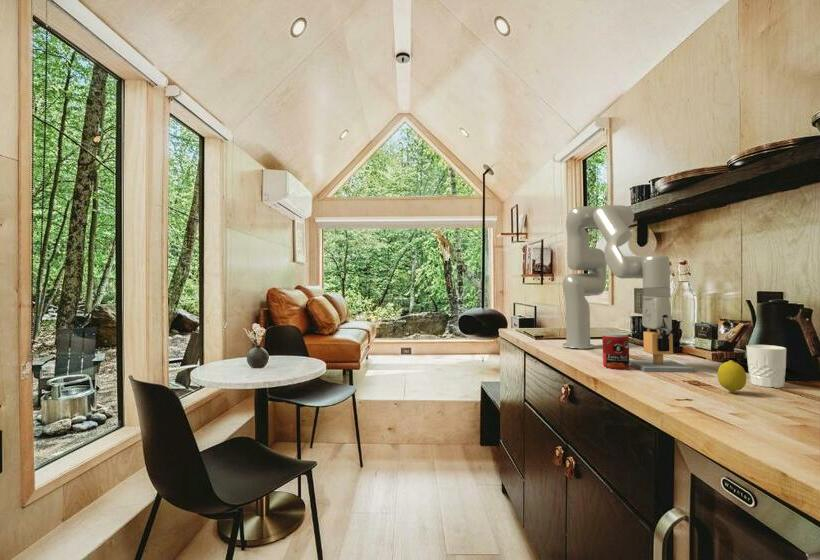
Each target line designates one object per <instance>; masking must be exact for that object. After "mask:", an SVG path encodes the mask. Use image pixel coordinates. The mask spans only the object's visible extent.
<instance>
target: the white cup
mask: <svg viewBox="0 0 820 560" xmlns="http://www.w3.org/2000/svg"><path fill="white" fill-rule="evenodd" d="M745 347H746V358H747V360H746V361H747V367H748V368H747V369H748V373H749V383H750V384H751V385H754V386H759V387H765V388H772V387H774V388H773V389H775V388H777V389H779V388H780V389H781V387H782V388H785V385H786V384H785V383H786V382H785V381H786V380H785V378H786V368H787V347H784V346H779V345H772V344H771V345H769V344H746V345H745Z"/></svg>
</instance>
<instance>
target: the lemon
mask: <svg viewBox="0 0 820 560" xmlns="http://www.w3.org/2000/svg"><path fill="white" fill-rule="evenodd" d="M716 374H717V376H716V377H717V381H718V383H719V385H720V386H721V387H722V388H724V389H725V390H726V391H728V392H729V393H732V394H734V393H735V392H736V391H740V390H742V389H744V387H745V386H746V384H747V373H746V371H745V368H744V367H743V365H740V364H739V363H737V362H735V361H734V360H728V361H724V362H723V363H721V364H720V365H719V367H718V369H717V373H716Z"/></svg>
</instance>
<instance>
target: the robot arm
mask: <svg viewBox="0 0 820 560" xmlns="http://www.w3.org/2000/svg"><path fill="white" fill-rule="evenodd" d="M634 220H635V213H634V211H633V210H632V208H630V207H629V205H628V206H627V205H621V204H618V205H617V204H605V205H601V206H591V205H590V206H589V205H588V206H587V205H586V206H576V207H573V208H571V210H569V212H568V213H567V215H566V219H565V227H566V234H567V254H566V255H567V260H566V261H567V267H568V268H569V270H572V271H588V272H589V273H571V274H568V275H566V276H565V277H563V279H562V289H563V295H564V301H565V303H564V305H565V337H566V338H565V340H566V342H564V343H562V346H563V345H564V346H567V347H574V348H593V349H595V348H594V347H595V344H593V343H591V313H590V312H591V309H590V304H589V302H588V300H587V298H586V297H585V296H587V297H588V296H592V297H593V296H600V295H601V294H603V293H604V292H605V290H606V284H607V266H608V268H609V270H610V272H611V273H612V274H613V275H614V276H615V277H617V278H618V279H624V280H626V279H637V280H638V279H642V298H643V300H642V315H641V317H642V318H641V325H642V326H643V328H645V330H646V332H658V336H659V338H657V342H658V351H669V338H670V333H672V330H673V325H672V324H673V323H672V321H673V320H672V318H673V317H672V308H671V300H670V299H671V270H670V267H671V265H670V263H671V262H670V258H669V256H668V255H665V254H652V255H645V256H638V255H637V256H633V255H632V256H630V255H628V256H625V255H624V254H623V252H621V250H620V248H619V247H622V246H623V245H625V244H626V243H628V241H630V239H631V237H632V231H631V229H630V228H629V227H630V226H631V225H632V224H633V223H634ZM585 228H598V229H599V231H600V233H601V235H602V236H603V238H604V239H605V241H606V244H605V247H604V250H603V249H600V248H597V247H596V248H594V247H591V248H590V243H591V242H590V240H591V239H590V235H589V234H588V232H587V230H586V229H585ZM661 332H662V333H661Z"/></svg>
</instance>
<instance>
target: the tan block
mask: <svg viewBox="0 0 820 560" xmlns="http://www.w3.org/2000/svg"><path fill="white" fill-rule="evenodd" d="M662 332H663V331H661V333H662ZM673 336H674V335H673V333H672V332H670V338H669V351H658V342H657V338H659V336H658V332H647V331H643V352H645V353H647V354H650V355H653V354H662V355H663V356H666V355H670V356H671V355H674V346H673V345H674V340H673V339H674V338H673Z"/></svg>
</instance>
